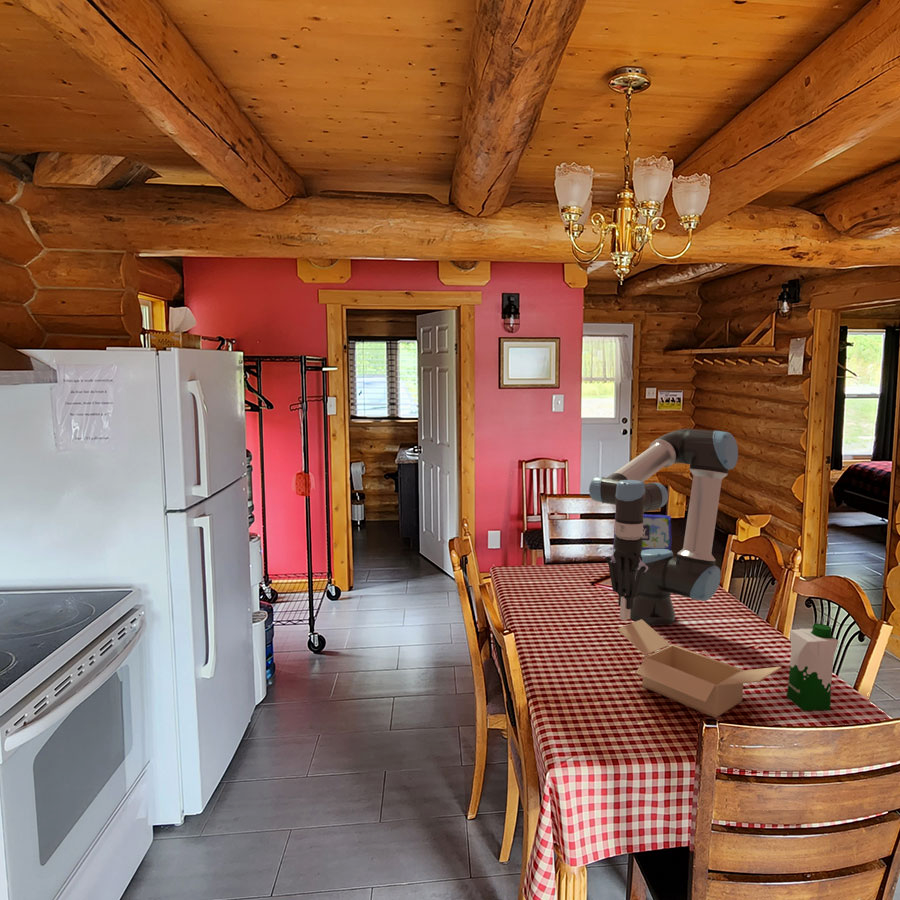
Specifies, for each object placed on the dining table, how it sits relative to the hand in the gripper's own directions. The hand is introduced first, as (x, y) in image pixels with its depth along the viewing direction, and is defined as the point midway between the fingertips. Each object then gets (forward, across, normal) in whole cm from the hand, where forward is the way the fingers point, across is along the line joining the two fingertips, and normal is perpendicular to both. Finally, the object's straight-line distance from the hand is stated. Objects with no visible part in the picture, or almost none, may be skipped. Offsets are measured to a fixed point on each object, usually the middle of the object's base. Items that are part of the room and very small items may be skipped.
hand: (625, 618), depth 182 cm
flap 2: (+6, +31, 0) cm, 31 cm away
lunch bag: (+14, -44, +74) cm, 87 cm away
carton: (+14, +21, 0) cm, 25 cm away
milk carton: (+14, +42, +18) cm, 48 cm away
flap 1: (+6, +11, 0) cm, 12 cm away
